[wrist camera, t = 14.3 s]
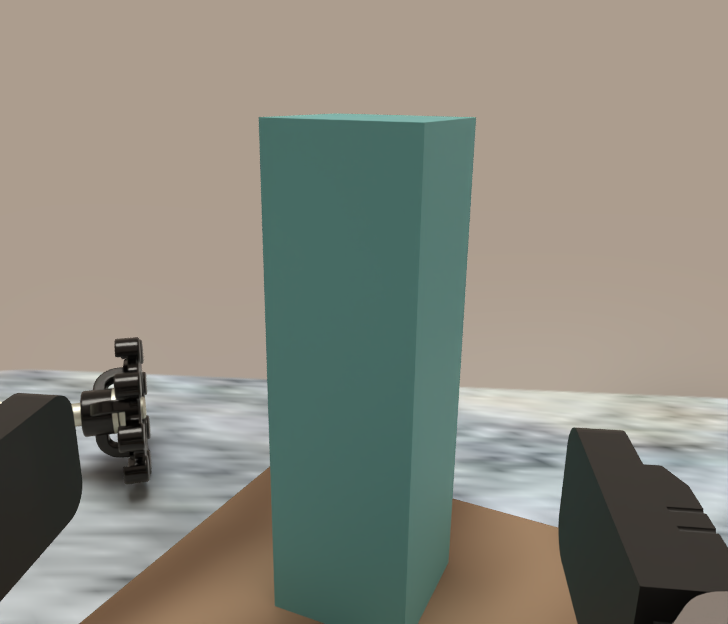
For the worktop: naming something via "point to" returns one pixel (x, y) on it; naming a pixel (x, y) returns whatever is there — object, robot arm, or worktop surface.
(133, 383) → the valve
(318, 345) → the plug
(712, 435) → the worktop surface
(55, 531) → the robot arm
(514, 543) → the board
